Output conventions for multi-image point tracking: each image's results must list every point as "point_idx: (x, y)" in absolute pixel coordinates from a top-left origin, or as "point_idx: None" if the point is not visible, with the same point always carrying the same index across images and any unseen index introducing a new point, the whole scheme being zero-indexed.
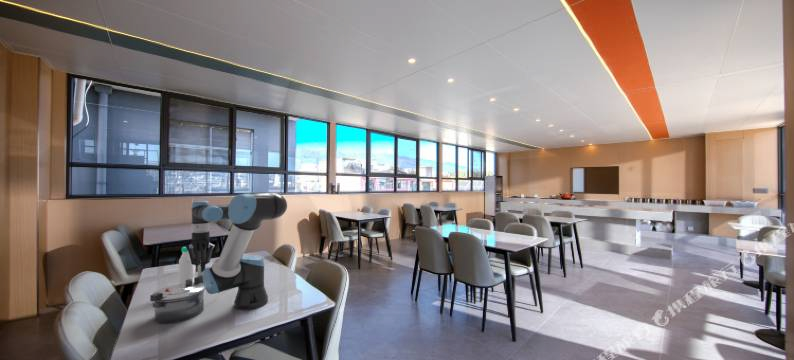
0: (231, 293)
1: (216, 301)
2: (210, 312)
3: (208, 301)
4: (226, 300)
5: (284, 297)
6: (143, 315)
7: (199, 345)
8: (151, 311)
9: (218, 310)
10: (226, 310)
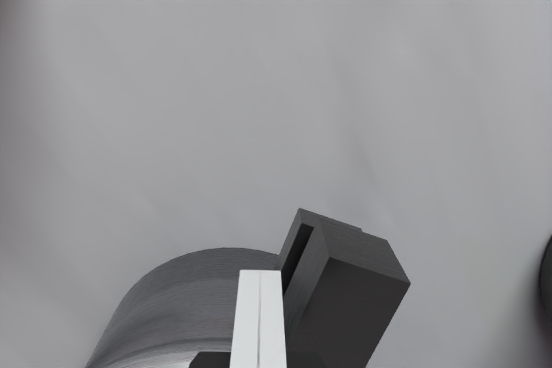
0: (452, 13)
1: (382, 188)
2: (411, 356)
3: (317, 178)
4: (455, 179)
5: None
6: (3, 344)
7: None
8: (2, 295)
9: (452, 336)
10: (503, 342)
